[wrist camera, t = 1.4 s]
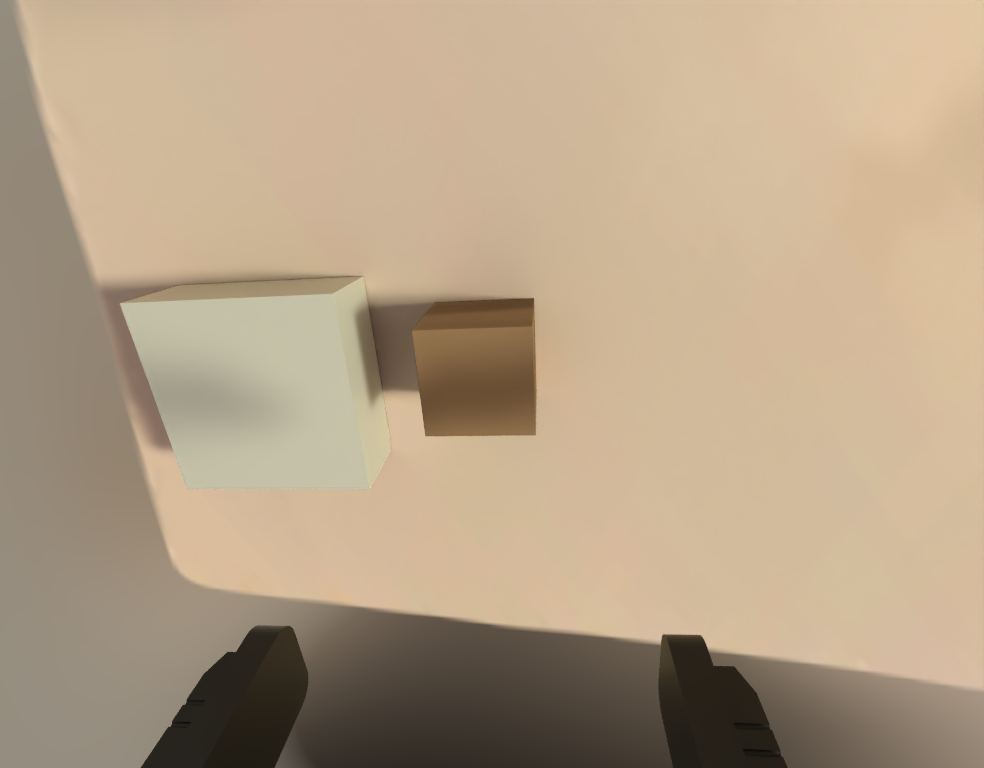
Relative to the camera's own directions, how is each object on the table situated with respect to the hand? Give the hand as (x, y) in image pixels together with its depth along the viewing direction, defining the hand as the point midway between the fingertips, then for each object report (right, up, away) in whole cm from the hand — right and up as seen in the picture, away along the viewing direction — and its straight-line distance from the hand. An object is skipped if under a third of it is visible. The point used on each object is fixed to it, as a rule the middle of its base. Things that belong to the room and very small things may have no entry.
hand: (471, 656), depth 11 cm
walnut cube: (0, +8, +15) cm, 17 cm away
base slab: (-11, +7, +16) cm, 21 cm away
